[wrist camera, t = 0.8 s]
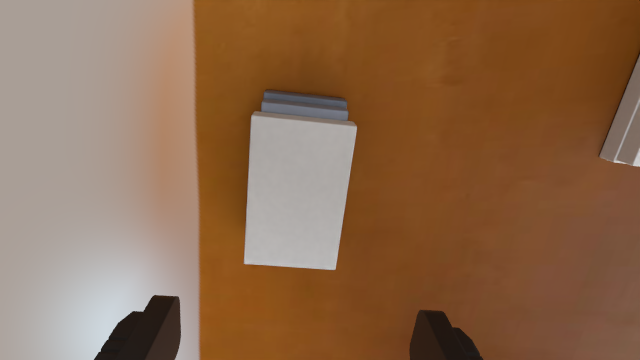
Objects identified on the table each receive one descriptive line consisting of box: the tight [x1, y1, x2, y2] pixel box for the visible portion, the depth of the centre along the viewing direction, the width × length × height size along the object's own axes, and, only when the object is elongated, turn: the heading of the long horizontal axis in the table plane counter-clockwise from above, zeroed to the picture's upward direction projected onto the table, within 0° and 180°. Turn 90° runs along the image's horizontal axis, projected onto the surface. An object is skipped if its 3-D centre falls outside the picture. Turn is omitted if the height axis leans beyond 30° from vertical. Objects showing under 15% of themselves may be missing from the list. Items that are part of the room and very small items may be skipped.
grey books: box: [261, 90, 349, 121], centre depth 25 cm, size 12×6×3 cm, turn 173°
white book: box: [244, 111, 357, 270], centre depth 23 cm, size 10×6×2 cm, turn 173°
